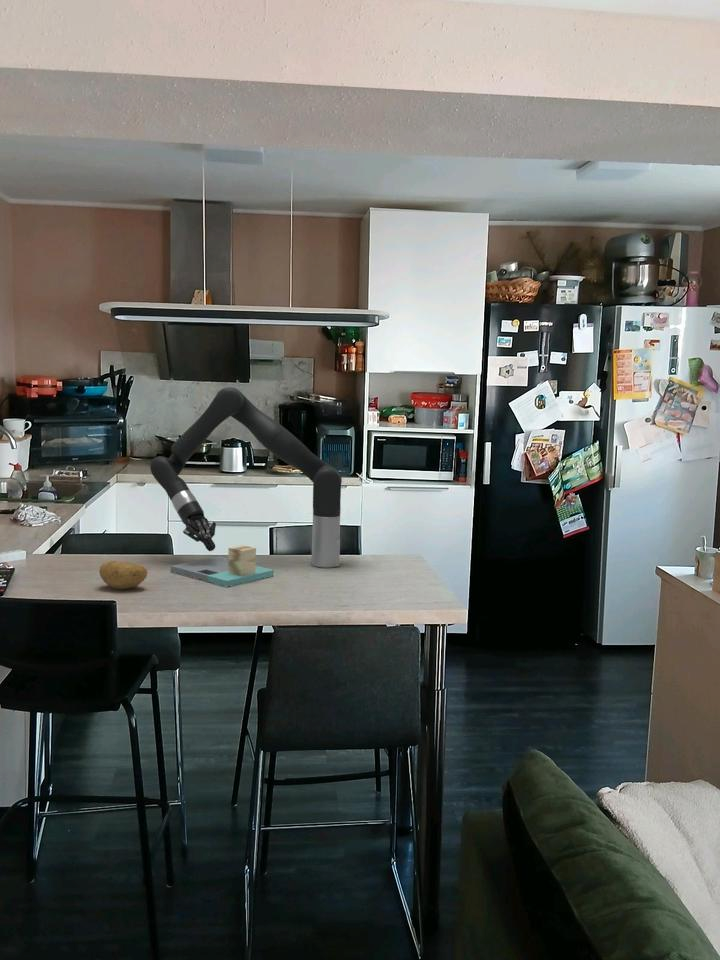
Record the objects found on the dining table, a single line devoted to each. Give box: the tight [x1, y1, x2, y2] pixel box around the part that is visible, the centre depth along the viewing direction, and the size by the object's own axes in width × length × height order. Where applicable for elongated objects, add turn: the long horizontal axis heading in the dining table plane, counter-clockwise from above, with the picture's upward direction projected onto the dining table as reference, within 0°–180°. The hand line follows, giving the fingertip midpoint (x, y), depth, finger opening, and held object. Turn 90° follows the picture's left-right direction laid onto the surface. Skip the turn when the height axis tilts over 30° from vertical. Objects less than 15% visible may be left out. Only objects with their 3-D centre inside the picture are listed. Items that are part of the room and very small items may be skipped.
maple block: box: [227, 544, 257, 576], centre depth 271 cm, size 6×6×8 cm
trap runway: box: [170, 556, 275, 588], centre depth 277 cm, size 26×20×2 cm
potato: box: [98, 560, 148, 590], centre depth 256 cm, size 10×14×8 cm
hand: (212, 549), depth 279 cm, fingers closed
